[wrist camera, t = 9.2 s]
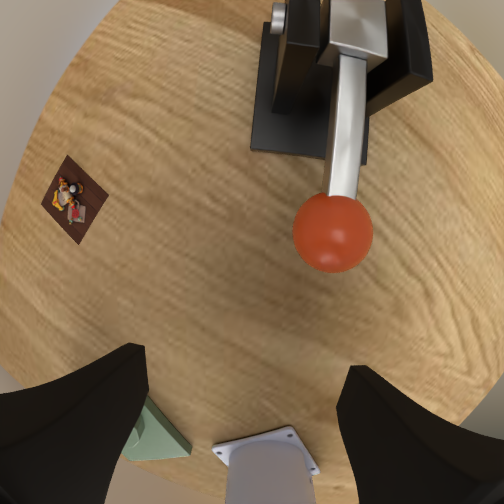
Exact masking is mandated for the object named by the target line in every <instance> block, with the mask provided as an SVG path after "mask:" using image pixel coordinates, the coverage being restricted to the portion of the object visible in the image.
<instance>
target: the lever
mask: <svg viewBox="0 0 504 504" xmlns="http://www.w3.org/2000/svg"><path fill="white" fill-rule="evenodd" d="M386 59H388V31H387V15H386V4H385V1H383V0H323V2H322V4H321V7H320V48H319V50H318V52H317V54H316V64H320V65H325V66H330V67H333V70H332V88H331V102H330V115H329V127H328V138H327V148H326V157H325V166H324V175H323V183H322V191H321V193H319V194H316V195H314V196H312V197H311V198H309V199H308V200H307V201H306V202H305V203H304V204H303V205H302V206H301V207H300V209H299V210H298V212H297V214H296V216H295V219H294V222H293V230H292V233H293V240H294V244H295V247H296V250H297V252H298V253H299V255H300V256H301V258H302V259H303V260H304V261H305V262H306V263H307V264H308V265H310V266H311V267H313V268H315V269H317V270H319V271H322V272H327V273H340V272H344V271H347V270H349V269H351V268H353V267H355V266H356V265H358V264H359V263H360V262H361V261H362V260H363V259H364V258H365V256H366V255H367V253H368V251H369V249H370V246H371V243H372V239H373V226H372V222H371V218H370V216H369V214H368V212H367V210H366V209H365V207H364V206H363V205H362V204H361V203H360V202H359V201H358V200H357V199H356V196H357V188H358V181H359V173H360V164H361V155H362V145H363V134H364V122H365V107H366V88H367V73H369V72H370V71H371V70H373V69H374V68H375V67H377V66H378V65H380V64H381V63H382V62H384V61H385V60H386Z"/></svg>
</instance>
